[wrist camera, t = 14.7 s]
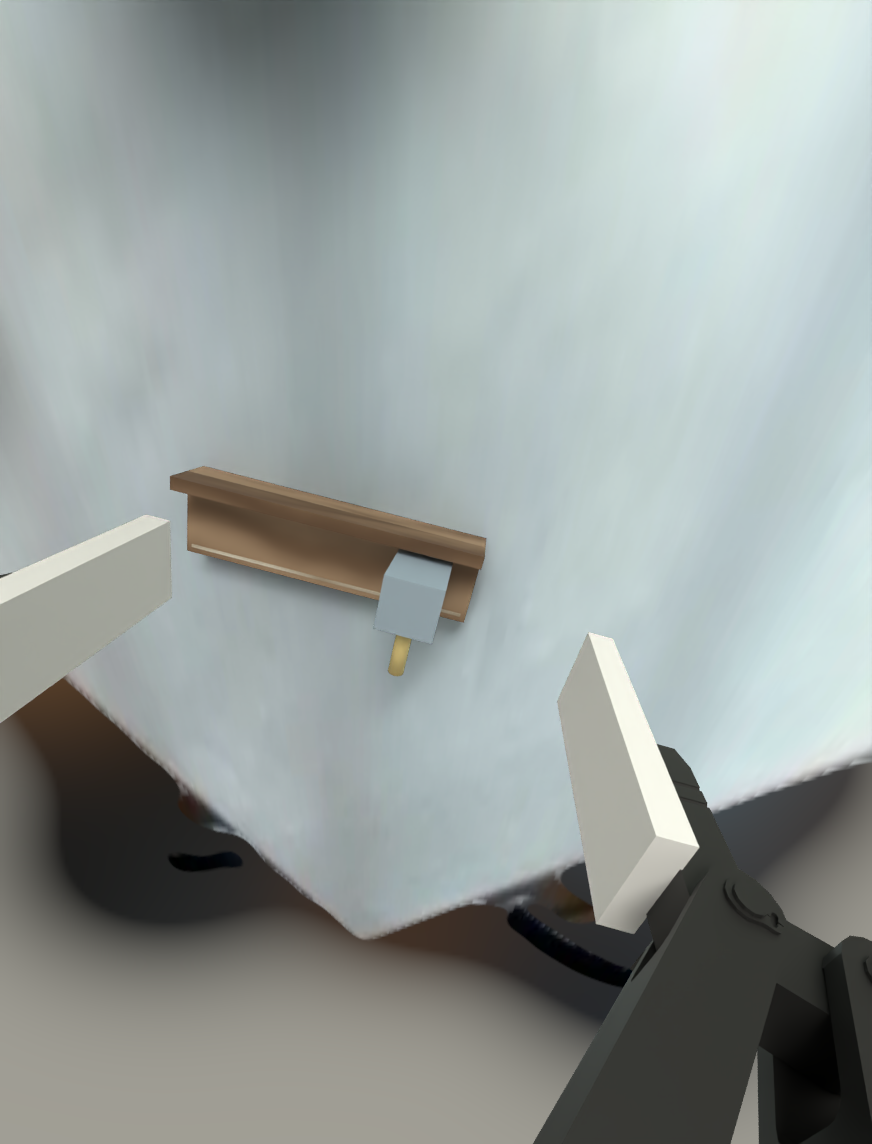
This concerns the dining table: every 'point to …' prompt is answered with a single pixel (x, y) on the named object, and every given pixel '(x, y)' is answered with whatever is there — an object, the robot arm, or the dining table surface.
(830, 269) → the dining table surface
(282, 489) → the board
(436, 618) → the grey cube mallet
